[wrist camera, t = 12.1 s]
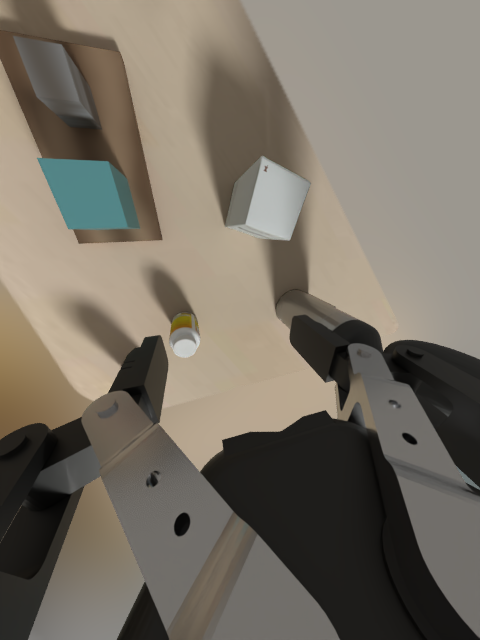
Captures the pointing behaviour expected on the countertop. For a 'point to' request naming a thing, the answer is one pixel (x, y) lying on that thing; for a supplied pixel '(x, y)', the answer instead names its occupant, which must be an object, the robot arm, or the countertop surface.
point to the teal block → (90, 194)
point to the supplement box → (267, 201)
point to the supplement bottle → (184, 334)
